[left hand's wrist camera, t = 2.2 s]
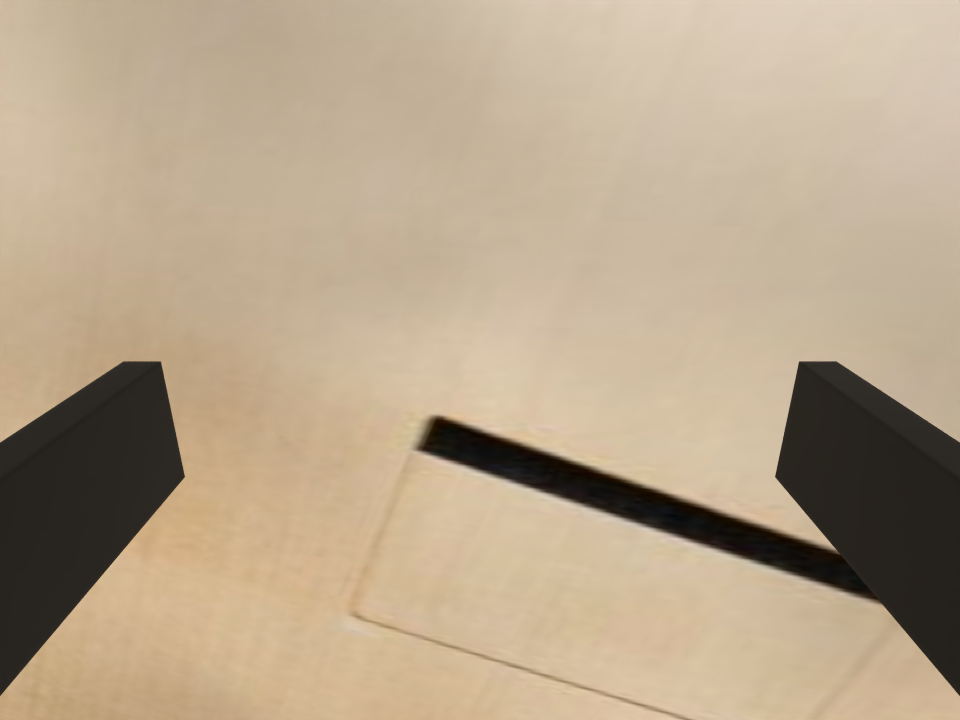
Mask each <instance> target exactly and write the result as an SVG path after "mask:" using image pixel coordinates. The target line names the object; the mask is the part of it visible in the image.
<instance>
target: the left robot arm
mask: <svg viewBox="0 0 960 720" xmlns="http://www.w3.org/2000/svg"><path fill="white" fill-rule="evenodd" d="M184 477H185V475H184V471H183V466H182V461H181V456H180V451H179V447H178V442H177V437H176V432H175V427H174V423H173V418H172V413H171V408H170V403H169V399H168V394H167V389H166V384H165V379H164V374H163V370H162V365H161V362H122V363H121V364H119V365H118V366H116V367H115V368H113V369H111V370H110V371H108V372H107V373H105V374H104V375H102V376H101V377H99V378H98V379H96V380H95V381H93V382H92V383H90V384H89V385H87V386H86V387H84V388H83V389H81V390H80V391H78V392H77V393H75V394H73V395H72V396H70V397H69V398H67V399H66V400H64V401H63V402H61V403H60V404H58V405H57V406H55V407H54V408H52V409H51V410H49V411H48V412H46V413H45V414H43V415H42V416H40V417H39V418H37V419H35V420H34V421H32V422H31V423H29V424H28V425H26V426H25V427H23V428H22V429H20V430H19V431H17V432H16V433H14V434H13V435H11V436H10V437H8V438H7V439H5V440H4V441H2V442H1V443H0V696H1V694H2V693H3V692H4V691H5V690H6V688H7V687H8V686H9V685H10V684H11V682H12V681H13V680H14V679H15V678H16V677H17V675H18V674H19V673H20V672H21V671H22V669H23V668H24V667H25V666H26V665H27V663H28V662H29V661H30V660H31V659H32V658H33V656H34V655H35V654H36V653H37V652H38V650H39V649H40V648H41V647H42V646H43V645H44V643H45V642H46V641H47V640H48V639H49V637H50V636H51V635H52V634H53V633H54V631H55V630H56V629H57V628H58V627H59V626H60V624H61V623H62V622H63V621H64V620H65V618H66V617H67V616H68V615H69V614H70V613H71V611H72V610H73V609H74V608H75V607H76V605H77V604H78V603H79V602H80V601H81V599H82V598H83V597H84V596H85V595H86V594H87V592H88V591H89V590H90V589H91V588H92V586H93V585H94V584H95V583H96V582H97V581H98V579H99V578H100V577H101V576H102V575H103V573H104V572H105V571H106V570H107V569H108V567H109V566H110V565H111V564H112V563H113V562H114V560H115V559H116V558H117V557H118V556H119V554H120V553H121V552H122V551H123V550H124V549H125V547H126V546H127V545H128V544H129V543H130V541H131V540H132V539H133V538H134V537H135V535H136V534H137V533H138V532H139V531H140V530H141V528H142V527H143V526H144V525H145V524H146V522H147V521H148V520H149V519H150V518H151V516H152V515H153V514H154V513H155V512H156V511H157V509H158V508H159V507H160V506H161V505H162V503H163V502H164V501H165V500H166V499H167V498H168V496H169V495H170V494H171V493H172V492H173V490H174V489H175V488H176V487H177V486H178V484H179V483H180V482H181V481H182V480H183V479H184ZM775 477H776V479H777V480H778V481H779V482H780V483H781V484H782V486H783V487H784V488H785V489H786V490H787V492H788V493H789V494H790V495H791V496H792V498H793V499H794V500H795V501H796V502H797V503H798V505H799V506H800V507H801V508H802V509H803V511H804V512H805V513H806V514H807V515H808V516H809V518H810V519H811V520H812V521H813V522H814V524H815V525H816V526H817V527H818V528H819V530H820V531H821V532H822V533H823V534H824V535H825V537H826V538H827V539H828V540H829V541H830V543H831V544H832V545H833V546H834V547H835V549H836V550H837V551H838V552H839V553H840V554H841V556H842V557H843V558H844V559H845V560H846V562H847V563H848V564H849V565H850V566H851V567H852V569H853V570H854V571H855V572H856V573H857V575H858V576H859V577H860V578H861V579H862V581H863V582H864V583H865V584H866V585H867V586H868V588H869V589H870V590H871V591H872V592H873V594H874V595H875V596H876V597H877V598H878V599H879V601H880V602H881V603H882V604H883V605H884V607H885V608H886V609H887V610H888V611H889V613H890V614H891V615H892V616H893V617H894V618H895V620H896V621H897V622H898V623H899V624H900V626H901V627H902V628H903V629H904V630H905V631H906V633H907V634H908V635H909V636H910V637H911V639H912V640H913V641H914V642H915V643H916V645H917V646H918V647H919V648H920V649H921V650H922V652H923V653H924V654H925V655H926V656H927V658H928V659H929V660H930V661H931V662H932V663H933V665H934V666H935V667H936V668H937V669H938V671H939V672H940V673H941V674H942V675H943V677H944V678H945V679H946V680H947V681H948V682H949V684H950V685H951V686H952V687H953V688H954V690H955V691H956V692H957V693H958V694H959V696H960V443H959V442H958V441H956V440H955V439H953V438H952V437H950V436H949V435H947V434H946V433H944V432H943V431H941V430H940V429H938V428H937V427H935V426H934V425H932V424H931V423H929V422H928V421H926V420H925V419H923V418H921V417H920V416H918V415H917V414H915V413H914V412H912V411H911V410H909V409H908V408H906V407H905V406H903V405H902V404H900V403H899V402H897V401H896V400H894V399H893V398H891V397H890V396H888V395H887V394H885V393H883V392H882V391H880V390H879V389H877V388H876V387H874V386H873V385H871V384H870V383H868V382H867V381H865V380H864V379H862V378H861V377H859V376H858V375H856V374H855V373H853V372H852V371H850V370H849V369H847V368H845V367H844V366H842V365H841V364H839V363H838V362H799V365H798V370H797V374H796V379H795V384H794V389H793V394H792V399H791V403H790V408H789V413H788V418H787V423H786V427H785V432H784V437H783V442H782V447H781V451H780V456H779V461H778V466H777V471H776V475H775Z"/></svg>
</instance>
